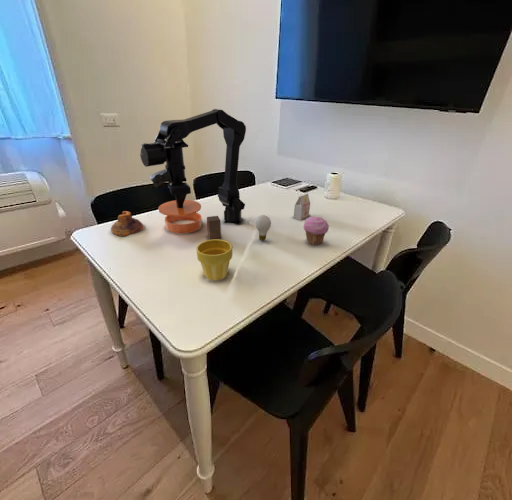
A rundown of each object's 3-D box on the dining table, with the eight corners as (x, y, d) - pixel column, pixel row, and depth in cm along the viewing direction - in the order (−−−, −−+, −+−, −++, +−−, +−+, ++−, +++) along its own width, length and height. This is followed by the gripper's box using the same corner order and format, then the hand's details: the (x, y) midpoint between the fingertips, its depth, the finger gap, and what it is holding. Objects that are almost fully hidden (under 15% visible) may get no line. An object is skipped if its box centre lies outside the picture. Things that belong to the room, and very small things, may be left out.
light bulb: (272, 238, 114) (273, 214, 110) (267, 245, 110) (268, 219, 105) (257, 236, 116) (258, 211, 111) (252, 242, 111) (252, 217, 106)
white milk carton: (293, 217, 133) (295, 195, 128) (301, 213, 137) (304, 192, 133) (300, 220, 131) (302, 198, 126) (308, 215, 135) (311, 194, 131)
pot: (206, 221, 127) (206, 212, 125) (194, 236, 115) (193, 226, 113) (175, 218, 129) (174, 209, 127) (159, 232, 117) (158, 222, 115)
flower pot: (199, 266, 96) (197, 238, 91) (232, 265, 97) (232, 238, 92) (197, 285, 87) (194, 255, 82) (233, 284, 88) (232, 255, 83)
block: (218, 234, 116) (217, 215, 112) (221, 239, 113) (220, 219, 109) (207, 236, 115) (206, 216, 111) (210, 241, 111) (208, 221, 108)
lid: (206, 204, 114) (205, 189, 111) (192, 219, 101) (191, 203, 98) (169, 201, 116) (167, 187, 114) (151, 215, 103) (148, 200, 101)
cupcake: (311, 249, 107) (314, 224, 102) (297, 239, 114) (299, 215, 109) (330, 244, 111) (334, 219, 106) (316, 235, 118) (319, 211, 113)
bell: (130, 238, 112) (126, 220, 108) (104, 233, 115) (100, 215, 112) (150, 226, 121) (147, 209, 118) (126, 222, 125) (122, 205, 121)
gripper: (148, 157, 106) (154, 200, 113) (151, 170, 90) (158, 218, 98) (180, 155, 109) (184, 197, 117) (188, 168, 94) (193, 214, 101)
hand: (180, 206), depth 108 cm, fingers closed on lid, 2 cm apart
